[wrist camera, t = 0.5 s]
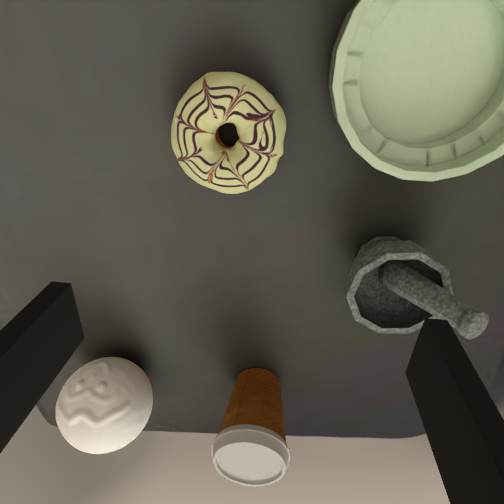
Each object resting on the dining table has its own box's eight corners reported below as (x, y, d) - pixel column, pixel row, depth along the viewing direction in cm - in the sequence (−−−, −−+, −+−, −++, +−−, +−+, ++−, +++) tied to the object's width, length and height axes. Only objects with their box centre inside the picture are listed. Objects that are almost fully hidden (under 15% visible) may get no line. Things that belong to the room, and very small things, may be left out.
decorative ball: (158, 341, 50) (123, 416, 40) (168, 399, 56) (140, 478, 46) (77, 335, 51) (22, 407, 41) (95, 393, 57) (51, 469, 47)
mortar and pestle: (337, 294, 43) (351, 371, 33) (339, 223, 39) (356, 286, 28) (436, 293, 42) (483, 373, 31) (450, 219, 37) (510, 283, 27)
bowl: (343, -54, 28) (352, -74, 23) (570, -51, 27) (624, -72, 22) (317, 160, 36) (321, 174, 32) (491, 170, 35) (519, 186, 30)
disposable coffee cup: (289, 407, 54) (288, 492, 44) (227, 402, 55) (211, 484, 44) (293, 361, 49) (292, 444, 39) (224, 356, 50) (206, 435, 40)
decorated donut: (303, 98, 33) (304, 103, 30) (260, 199, 39) (257, 212, 35) (197, 52, 32) (187, 51, 29) (168, 161, 38) (156, 172, 34)
